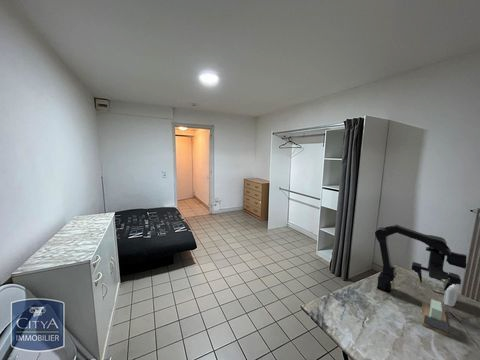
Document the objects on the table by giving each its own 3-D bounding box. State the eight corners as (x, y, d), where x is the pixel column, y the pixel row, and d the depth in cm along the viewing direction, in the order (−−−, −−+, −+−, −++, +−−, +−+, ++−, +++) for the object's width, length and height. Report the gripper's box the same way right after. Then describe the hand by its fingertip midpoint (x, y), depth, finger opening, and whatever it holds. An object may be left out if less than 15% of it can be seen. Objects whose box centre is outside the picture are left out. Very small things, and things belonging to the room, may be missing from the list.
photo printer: (446, 296, 117) (449, 277, 115) (457, 300, 113) (460, 281, 111) (442, 303, 111) (445, 283, 109) (453, 308, 107) (456, 288, 106)
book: (429, 323, 96) (432, 307, 95) (429, 314, 102) (431, 298, 101) (439, 328, 94) (442, 311, 93) (438, 317, 100) (440, 302, 99)
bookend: (423, 322, 97) (424, 315, 96) (423, 321, 98) (424, 314, 97) (446, 332, 91) (448, 325, 91) (446, 331, 92) (447, 324, 92)
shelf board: (422, 325, 97) (422, 323, 97) (421, 302, 111) (422, 301, 111) (448, 336, 91) (448, 334, 91) (444, 311, 105) (444, 309, 105)
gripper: (412, 259, 105) (409, 285, 107) (464, 274, 92) (459, 303, 94) (413, 252, 113) (410, 276, 115) (461, 264, 100) (456, 291, 102)
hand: (432, 286), depth 107 cm, fingers open, 9 cm apart
